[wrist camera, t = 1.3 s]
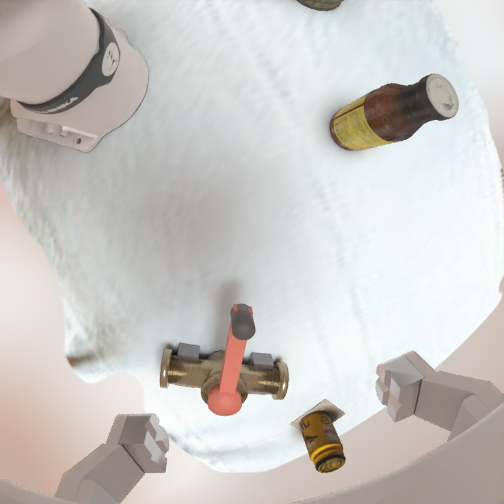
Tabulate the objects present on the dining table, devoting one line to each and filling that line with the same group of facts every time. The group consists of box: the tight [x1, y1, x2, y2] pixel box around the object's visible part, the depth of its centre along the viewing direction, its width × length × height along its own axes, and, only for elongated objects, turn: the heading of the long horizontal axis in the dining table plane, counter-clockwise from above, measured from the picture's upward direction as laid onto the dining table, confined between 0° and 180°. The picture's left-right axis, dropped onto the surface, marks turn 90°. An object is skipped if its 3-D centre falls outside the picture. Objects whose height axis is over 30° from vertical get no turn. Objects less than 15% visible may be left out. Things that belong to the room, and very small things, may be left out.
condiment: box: [291, 399, 346, 473], centre depth 43 cm, size 7×8×12 cm
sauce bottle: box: [331, 74, 459, 150], centre depth 27 cm, size 7×6×20 cm
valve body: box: [160, 343, 289, 404], centre depth 40 cm, size 18×6×7 cm, turn 79°
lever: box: [208, 304, 255, 416], centre depth 33 cm, size 4×16×4 cm, turn 169°
